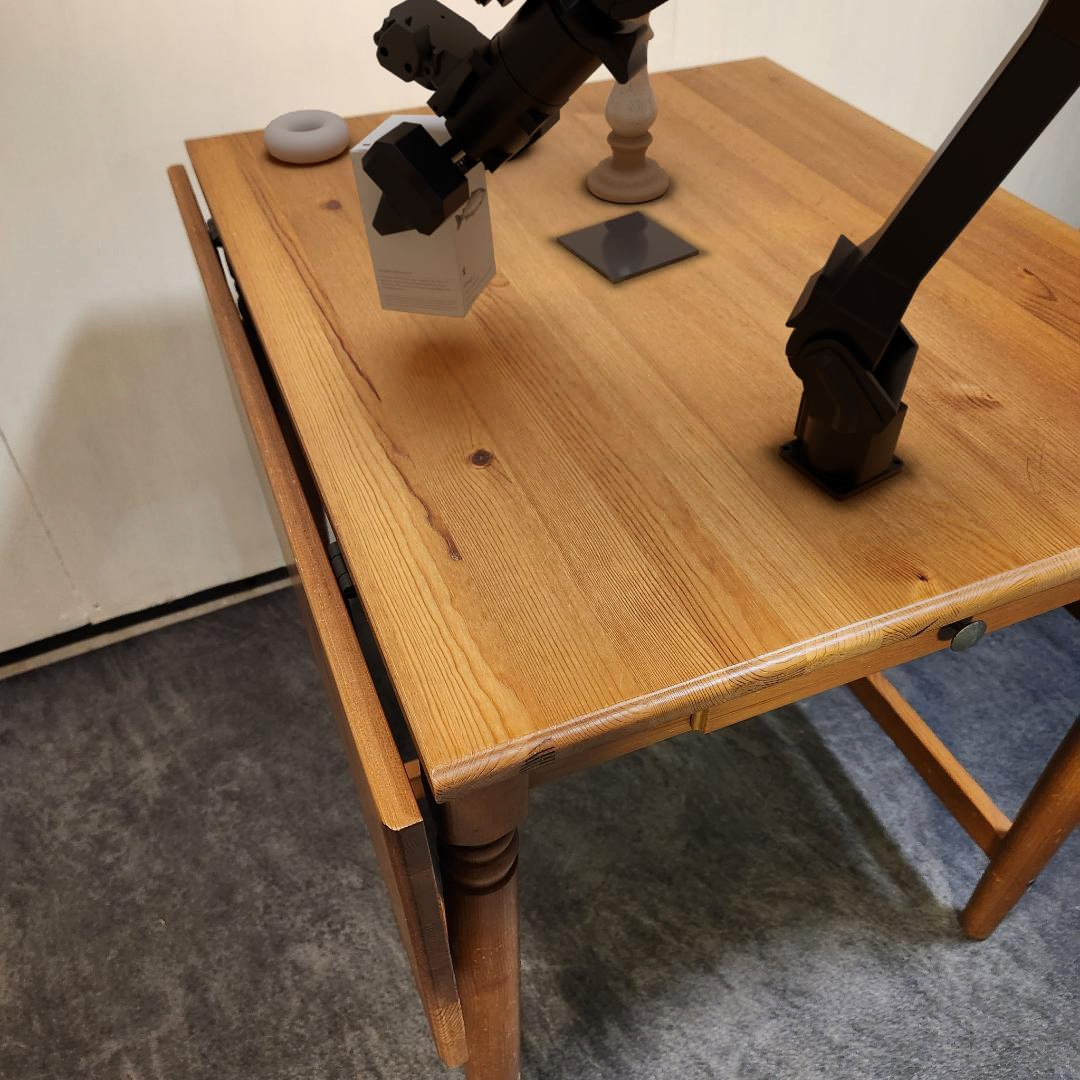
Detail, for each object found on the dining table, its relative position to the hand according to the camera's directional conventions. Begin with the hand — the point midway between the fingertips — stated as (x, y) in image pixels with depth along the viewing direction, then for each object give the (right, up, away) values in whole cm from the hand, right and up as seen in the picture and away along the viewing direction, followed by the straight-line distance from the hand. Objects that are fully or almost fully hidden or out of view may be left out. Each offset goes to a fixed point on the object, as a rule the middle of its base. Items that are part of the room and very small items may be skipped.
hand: (407, 205), depth 71 cm
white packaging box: (+2, -5, +5) cm, 8 cm away
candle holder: (+19, +13, +31) cm, 39 cm away
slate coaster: (+18, +4, +22) cm, 29 cm away
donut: (-17, +21, +40) cm, 48 cm away
